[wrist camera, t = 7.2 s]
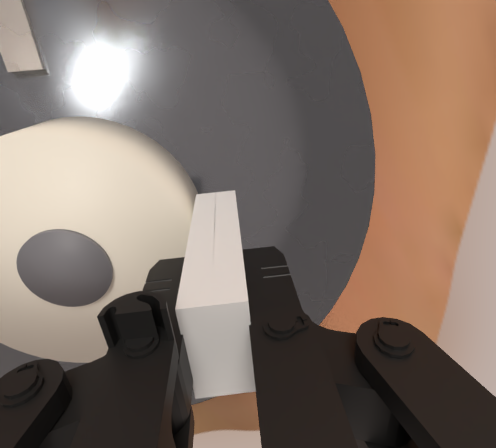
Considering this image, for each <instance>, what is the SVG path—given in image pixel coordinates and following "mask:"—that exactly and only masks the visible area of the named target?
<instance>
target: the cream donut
mask: <svg viewBox="0 0 496 448" xmlns="http://www.w3.org/2000/svg"><path fill="white" fill-rule="evenodd" d="M196 194H198V192H197V190H196V187H195V185H194V184H193V182H192V180H191V178H190V177H189V175H188V173H187V172H186V171H185V169H184V168H183V167H182V165H181V164H180V163H179V162H178V161H177V160H176V159H175V158H174V157H173V155H172V154H171V153H170V152H168V151H167V150H166V149H165V148H164V147H162V146H161V145H160V144H159V143H158V142H156V141H154V140H153V139H151V138H150V137H148V136H147V135H145V134H143V133H141V132H139V131H137V130H135V129H133V128H131V127H129V126H126V125H123V124H120V123H117V122H114V121H110V120H105V119H101V118H94V117H82V116H79V117H63V118H58V119H52V120H48V121H45V122H42V123H39V124H36V125H33V126H30V127H27V128H24V129H21V130H18V131H14V132H11V133H8V134H5V135H2V136H0V343H2V344H4V345H6V346H8V347H10V348H13V349H16V350H18V351H21V352H24V353H26V354H30V355H33V356H37V357H41V358H45V359H51V360H56V361H63V362H74V363H89V362H92V361H94V360H96V359H99V358H101V357H103V356H105V355H106V353H107V351H108V346H107V343H106V340H105V337H104V335H103V332H102V329H101V327H100V324H99V321H98V318H97V316H98V314H99V313H100V312H101V310H102V309H103V308H104V307H105V306H106V305H108V304H109V303H110V302H112V301H113V300H114V299H116V298H119V297H121V296H123V295H125V294H128V293H133V292H137V291H142V290H143V287H144V284H146V279H147V276H148V273H149V270H150V269H151V268H152V267H153V266H154V265H155V264H156V263H157V262H158V261H159V260H162V259H171V258H180V257H185V253H186V247H187V242H188V236H189V231H190V226H191V220H192V215H193V209H194V204H195V198H196Z"/></svg>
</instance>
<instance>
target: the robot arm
mask: <svg viewBox="0 0 496 448" xmlns="http://www.w3.org/2000/svg"><path fill="white" fill-rule="evenodd" d="M97 318H98V321H99V324H100V327H101V329H102V332H103V335H104V337H105V340H106V343H107V346H108V351H107V353H106V355H105V356H103V357H101V358H99V359H96V360H94V361H92V362H89V363H87V364H84V365H81V366H78V367H76V368H73V369H70V370H67V371H65V372H64V370H63V368H62V366H61V365H60V364H59V362H57V361H54V360H51V359H39V360H34V361H31V362H28V363H25V364H22V365H20V366H18V367H16V368H15V369H13V370H11V371H9V372H8V373H6V374H5V375H3V376H2V377H1V378H0V448H193V436H194V416H193V411H192V406H191V401H192V389H193V390H194V394H195V399H198V398H206V397H215V396H223V395H231V394H239V393H247V392H255V391H256V398H257V407H258V417H259V427H260V435H261V445H262V448H496V397H495V396H494V395H492V394H491V393H490V392H489V391H488V390H487V389H486V388H485V387H483V386H482V385H481V384H480V383H479V382H478V381H477V380H476V379H474V378H473V377H472V376H471V375H470V374H469V373H468V372H467V371H465V370H464V369H463V368H462V367H461V366H460V365H459V364H458V363H456V362H455V361H454V360H453V359H452V358H451V357H450V356H449V355H447V354H446V353H445V352H444V351H443V350H442V349H441V348H440V347H438V346H437V345H436V344H435V343H434V342H433V341H432V340H431V339H430V338H428V337H427V336H426V335H425V334H424V333H423V332H421V331H420V330H418V329H417V328H416V327H414V326H413V325H411V324H409V323H406V322H404V321H401V320H398V319H393V318H385V317H382V318H375V319H370V320H368V321H366V322H365V323H363V324H361V326H360V327H359V329H358V331H357V332H356V334H355V333H348V332H340V331H334V330H330V329H326V328H324V327H321V326H319V325H317V324H315V323H314V322H312V320H311V319H310V317H309V316H308V315H307V314H305V313H304V311H303V310H302V307H301V304H300V301H299V298H298V295H297V292H296V289H295V286H294V283H293V280H292V277H291V275H290V271H289V268H288V266H287V262H286V259H285V256H284V254H283V253H282V252H281V251H279V250H278V249H277V248H276V247H275V246H271V247H261V248H252V249H243V250H242V244H241V235H240V227H239V219H238V210H237V202H236V194H235V190H233V191H223V192H214V193H204V194H196V198H195V204H194V209H193V215H192V220H191V226H190V231H189V236H188V242H187V247H186V253H185V257H180V258H171V259H162V260H159V261H158V262H157V263H156V264H155V265H154V266H153V267H152V268H151V269H150V270H149V273H148V276H147V279H146V284H144V287H143V290H142V291H137V292H133V293H128V294H125V295H123V296H121V297H119V298H116V299H114V300H113V301H112V302H110V303H109V304H108V305H106V306H105V307H104V308H103V309H102V310H101V312H100V313H99V314H98V316H97Z"/></svg>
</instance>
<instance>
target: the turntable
mask: <svg viewBox="0 0 496 448" xmlns="http://www.w3.org/2000/svg"><path fill="white" fill-rule="evenodd" d="M79 116H82V117H94V118H101V119H105V120H110V121H114V122H117V123H120V124H123V125H126V126H129V127H131V128H133V129H135V130H137V131H139V132H141V133H143V134H145V135H147V136H148V137H150V138H151V139H153V140H154V141H156V142H158V143H159V144H160V145H161V146H162V147H164V148H165V149H166V150H167V151H168V152H170V153H171V154H172V155H173V157H174V158H175V159H176V160H177V161H178V162H179V163H180V164H181V165H182V167H183V168H184V169H185V171H186V172H187V173H188V175H189V177H190V178H191V180H192V182H193V184H194V185H195V187H196V190H197V192H198V194H204V193H214V192H223V191H233V190H235V194H236V202H237V210H238V219H239V227H240V235H241V244H242V250H243V249H252V248H261V247H271V246H275V247H276V248H277V249H278V250H279V251H281V252H282V253H283V254H284V256H285V259H286V262H287V266H288V268H289V271H290V275H291V277H292V280H293V283H294V286H295V289H296V292H297V295H298V298H299V301H300V304H301V307H302V310H303V311H304V313H305V314H307V315H308V316H309V317H310V319H311V320H312V322H314V323H315V324H317V325H319V324H320V323H321V322H322V321H323V319H324V318H325V317H326V316H327V314H328V313H329V312H330V311H331V309H332V308H333V306H334V305H335V303H336V301H337V300H338V298H339V296H340V295H341V293H342V292H343V290H344V288H345V287H346V285H347V283H348V281H349V279H350V276H351V274H352V272H353V270H354V268H355V265H356V263H357V261H358V259H359V256H360V253H361V250H362V246H363V243H364V240H365V237H366V233H367V230H368V227H369V221H370V215H371V209H372V203H373V196H374V182H375V148H374V139H373V130H372V120H371V113H370V109H369V105H368V101H367V97H366V93H365V89H364V85H363V81H362V77H361V72H360V70H359V67H358V65H357V62H356V60H355V57H354V54H353V52H352V49H351V47H350V44H349V42H348V39H347V37H346V34H345V31H344V29H343V27H342V25H341V23H340V21H339V19H338V18H337V16H336V14H335V12H334V10H333V9H332V7H331V5H330V3H329V1H328V0H0V136H2V135H5V134H8V133H11V132H14V131H18V130H21V129H24V128H27V127H30V126H33V125H36V124H39V123H42V122H45V121H48V120H52V119H58V118H63V117H79ZM39 359H45V358H41V357H37V356H33V355H30V354H26V353H24V352H21V351H18V350H16V349H13V348H10V347H8V346H6V345H4V344H2V343H0V378H1V377H2V376H3V375H5V374H6V373H8V372H9V371H11V370H13V369H15V368H16V367H18V366H20V365H22V364H25V363H28V362H31V361H34V360H39ZM54 361H56V360H54ZM57 362H59V364H60V365H61V366H62V368H63V370H64V372H65V371H67V370H70V369H73V368H76V367H78V366H81V365H84V364H87V363H74V362H63V361H57ZM215 397H217V396H215ZM211 398H214V397H206V398H198V399H195V394H194V390H193V389H192V401H191V405H193V404H197V403H200V402H203V401H206V400H209V399H211Z"/></svg>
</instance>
